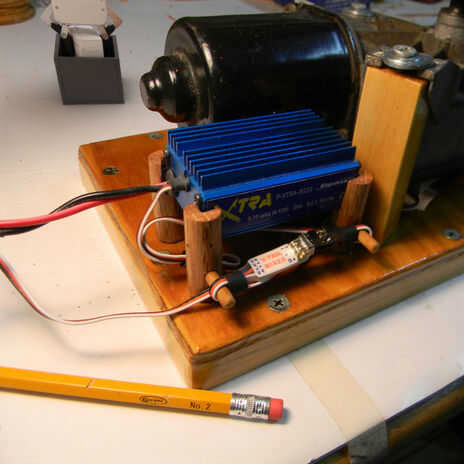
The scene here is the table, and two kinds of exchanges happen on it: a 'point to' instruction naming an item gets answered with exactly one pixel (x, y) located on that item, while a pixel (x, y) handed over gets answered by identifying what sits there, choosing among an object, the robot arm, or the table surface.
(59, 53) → the dark grey open bin
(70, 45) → the robot arm
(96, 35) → the ink box
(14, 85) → the table surface
